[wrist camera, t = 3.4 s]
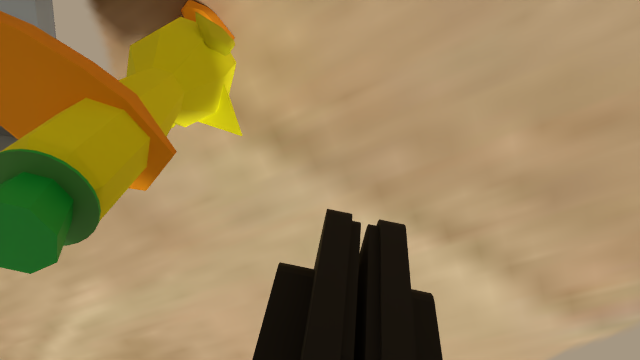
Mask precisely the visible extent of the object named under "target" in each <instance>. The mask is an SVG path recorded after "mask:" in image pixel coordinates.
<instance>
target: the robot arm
mask: <svg viewBox="0 0 640 360" xmlns="http://www.w3.org/2000/svg"><path fill="white" fill-rule="evenodd" d="M360 231H361V223H360V222H355V221H352V214H350V213H345V212H340V211H335V210H330V209H327V212H326V216H325V220H324V225H323V230H322V234H321V239H320V243H319V248H318V253H317V257H316V262H315V266H314V269H309V268H305V267H300V266H295V265H290V264H285V263H279V265H278V269H277V272H276V276H275V279H274V283H273V287H272V290H271V294H270V298H269V301H268V305H267V309H266V312H265V316H264V319H263V323H262V327H261V330H260V334H259V338H258V341H257V345H256V349H255V352H254V356H253V360H443V359H442V352H441V345H440V338H439V331H438V324H437V317H436V309H435V302H434V298H433V296H432V294H431V293H427V292H422V291H417V290H412V289H411V283H410V271H409V259H408V247H407V236H406V227H405V225H404V224H399V223H394V222H389V221H384V220H379V221H378V223H377V226H375V225H370V224H368V226H367V229H366V232H365V236H364V239H363V243H362V247H361V250H360ZM359 250H360V254H359Z"/></svg>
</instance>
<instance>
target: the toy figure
mask: <svg viewBox="0 0 640 360" xmlns="http://www.w3.org/2000/svg"><path fill="white" fill-rule="evenodd" d="M181 12H182V14H183V17H184V18H183V17H179V18H177V19H176V20H174V21H172V22H170V23H169V24H167V25H165V26H163V27H162V28H160V29H158V30H156V31H155V32H153V33H151V34H149V35H148V36H146V37H144V38H142V39H141V40H139V41H137V42H136V43H134V44H132V45H130V50H129V59H128V68H127V77H126V78H123V79H121V80H117V79H115V78H114V77H113V76H111V75H110V74H109V73H107V72H106V71H105V70H103V69H102V68H101V67H99V66H98V65H97V64H95V63H94V62H92V61H91V60H89V59H88V58H86V57H84V56H83V55H81V54H80V53H78V52H76V51H75V50H73V49H71V48H70V47H68V46H67V45H65V44H63V43H62V42H60V41H59V40H57V39H55V38H54V37H52V36H50V35H49V34H47V33H46V32H44V31H42V30H41V29H39V28H38V27H36V26H34V25H32V24H30V23H28V22H25V21H23V20H21V19H18V18H16V17H14V16H11V15H9V14H7V13H4V12H2V11H0V126H2V127H3V128H4V129H5V130H7V131H8V132H9V133H10V134H12V135H13V136H14V137H15V138H17V139H18V140H17V141H16V142H14V143H13V144H11V145H10V146H8V147H7V148H5V149H4V150H2V151H1V152H0V267H2V268H6V269H11V270H16V271H20V272H25V273H29V274H31V273H34V272H36V271H38V270H41V269H43V268H45V267H47V266H50V265H52V264H54V263H56V262H57V261H58V258H59V256H60V253H61V250H62V247H63V246H65V245H71V244H75V243H78V242H80V241H82V240H84V239H86V238H88V237H89V236H90V235H91V234H92V233H93V232H94V230H95V229H96V227H97V225H98V223H99V221H100V220H101V219H102V218H103V216H104V215H105V214H106V213H107V212H108V211H109V209H110V208H111V207H112V206H113V205H114V204H115V203H116V201H117V200H118V199H119V198H120V197H121V196H122V195H123V193H124V192H125V191H126V190H127V189H128V188H131V189H138V190H144V191H146V190H147V189H148V188H149V186H150V185H151V184H152V182H153V181H154V180H155V179H156V177H157V176H158V175H159V174H160V172H161V171H162V170H163V169H164V167H165V166H166V165H167V163H168V162H169V161H170V160H171V158H172V157H173V156H174V154H175V153H176V150H175V149H174V147H173V146H172V144H171V143H170V142H169V140H168V139H167V137H166V136H167V134H168V133H169V131H170V129H171V128H173V127H174V126H175V125H176V124H177V125H180V126H183V127H186V126H189V125H191V124H193V123H195V122H197V121H198V122H201V123H204V124H207V125H210V126H213V127H216V128H219V129H222V130H225V131H228V132H231V133H234V134H237V135H240V136H242V133H241V130H240V127H239V124H238V121H237V118H236V115H235V112H234V109H233V106H232V103H231V100H230V97H229V92H230V88H231V84H232V79H233V75H234V71H235V66H236V61H235V59H234V58H233V56H232V54H231V53H230V52H231V50H232V49H233V47H234V46H235V43H234V40H233V39H234V38H235V37H234V36H233V35H232V34H231V32H230V31H229V30H228V29H227V27H226V26H225V25H224V24H223V22H222V21H221V20H220V19H219V17H218V16H217V15H216V14H215V13H214V12H213V11H212V10H211V9H210V8H208V7H206V6H204V5H202V4H199V3H197V2H195V1H193V0H188V1H187V2H186V4H185V5H184V6H183V8H182V9H181Z"/></svg>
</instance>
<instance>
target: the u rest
mask: <svg viewBox="0 0 640 360" xmlns="http://www.w3.org/2000/svg"><path fill="white" fill-rule="evenodd" d="M0 11H2V12H4V13H7V14H9V15H11V16H14V17H16V18H18V19H21V20H23V21H25V22H28V23H30V24H32V25H34V26H36V27H38V28H39V29H41V30H42V31H44V32H46V33H47V34H49V35H50V36H52V37H54V38H55V39H56V33H55V23H54V15H53V5H52V0H0ZM17 140H18V139H17V138H15V137H14V136H13V135H12V134H10V133H9V132H8V131H7V130H5V129H4V128H3V127H2V126H0V152H1V151H2V150H4V149H5V148H7V147H8V146H10V145H11V144H13V143H14V142H16V141H17Z"/></svg>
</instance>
